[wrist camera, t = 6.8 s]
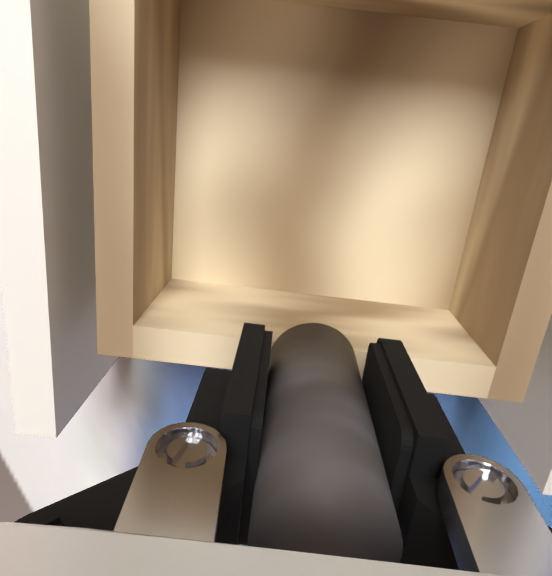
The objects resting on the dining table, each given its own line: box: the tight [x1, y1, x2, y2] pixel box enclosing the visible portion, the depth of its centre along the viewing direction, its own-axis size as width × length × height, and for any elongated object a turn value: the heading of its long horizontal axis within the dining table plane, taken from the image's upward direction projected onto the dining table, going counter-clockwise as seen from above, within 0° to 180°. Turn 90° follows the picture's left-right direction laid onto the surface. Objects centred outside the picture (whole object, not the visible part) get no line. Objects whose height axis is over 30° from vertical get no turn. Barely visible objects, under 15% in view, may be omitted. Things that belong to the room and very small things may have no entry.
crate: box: [89, 0, 552, 563], centre depth 11 cm, size 12×12×11 cm
